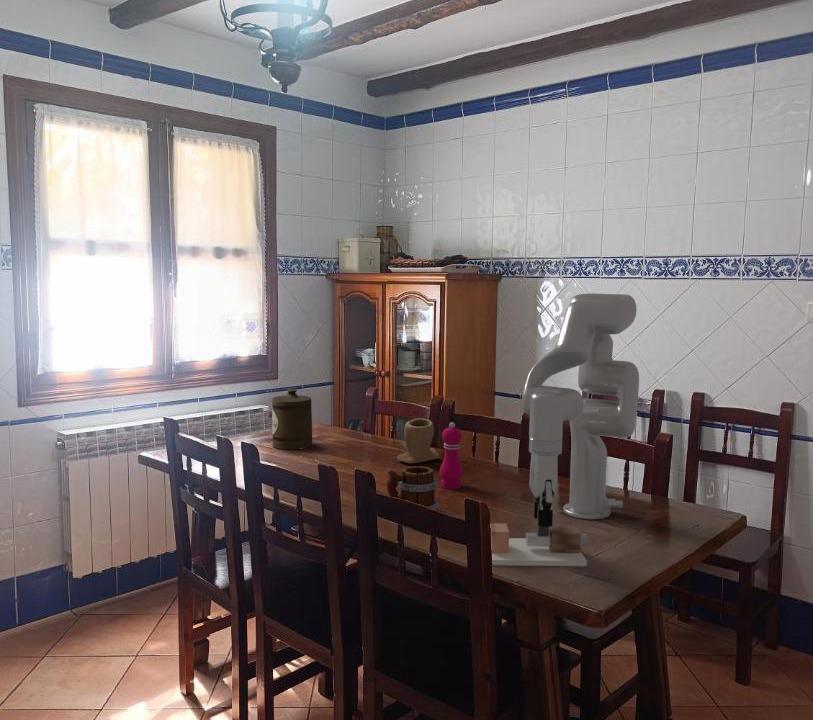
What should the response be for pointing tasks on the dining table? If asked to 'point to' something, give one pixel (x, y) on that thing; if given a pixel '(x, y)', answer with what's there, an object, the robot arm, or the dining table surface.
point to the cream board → (535, 556)
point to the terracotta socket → (499, 538)
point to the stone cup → (418, 441)
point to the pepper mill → (451, 458)
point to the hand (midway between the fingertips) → (542, 521)
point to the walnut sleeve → (564, 540)
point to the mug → (414, 485)
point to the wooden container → (291, 421)
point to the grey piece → (547, 536)
